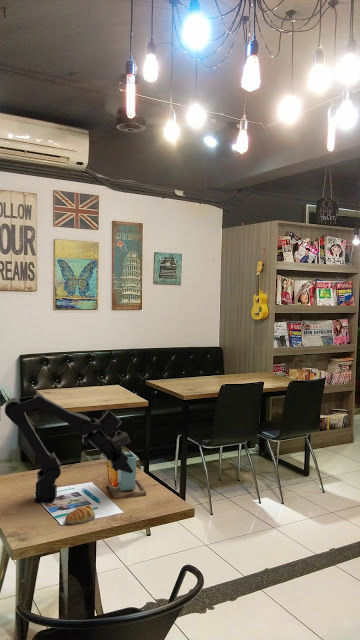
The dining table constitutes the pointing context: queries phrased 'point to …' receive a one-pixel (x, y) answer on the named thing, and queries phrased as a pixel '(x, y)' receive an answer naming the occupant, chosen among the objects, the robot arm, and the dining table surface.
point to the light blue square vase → (128, 474)
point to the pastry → (80, 515)
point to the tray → (127, 491)
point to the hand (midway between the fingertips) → (130, 469)
